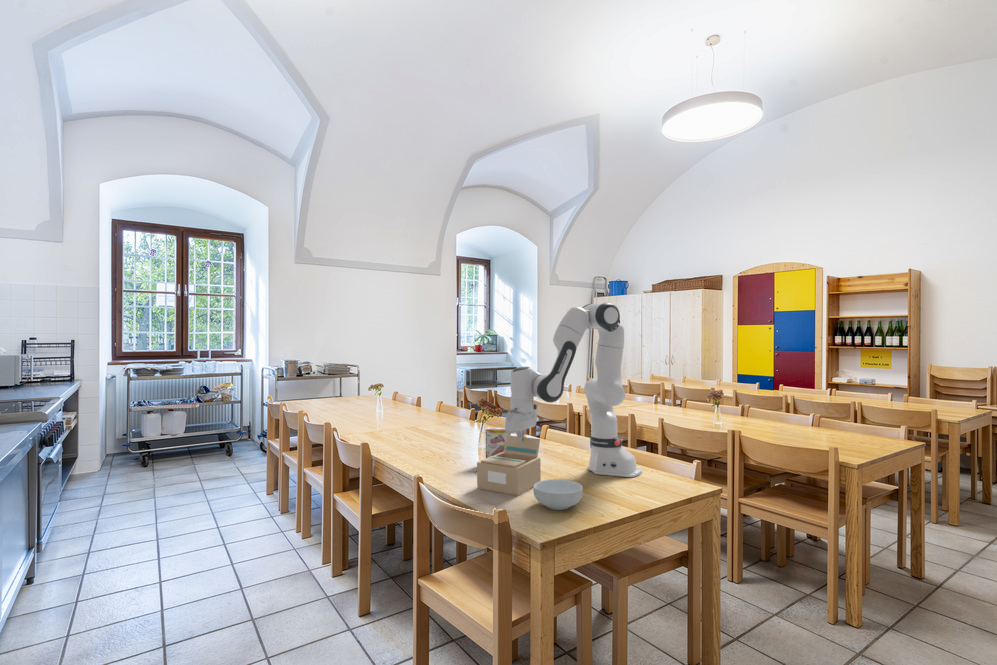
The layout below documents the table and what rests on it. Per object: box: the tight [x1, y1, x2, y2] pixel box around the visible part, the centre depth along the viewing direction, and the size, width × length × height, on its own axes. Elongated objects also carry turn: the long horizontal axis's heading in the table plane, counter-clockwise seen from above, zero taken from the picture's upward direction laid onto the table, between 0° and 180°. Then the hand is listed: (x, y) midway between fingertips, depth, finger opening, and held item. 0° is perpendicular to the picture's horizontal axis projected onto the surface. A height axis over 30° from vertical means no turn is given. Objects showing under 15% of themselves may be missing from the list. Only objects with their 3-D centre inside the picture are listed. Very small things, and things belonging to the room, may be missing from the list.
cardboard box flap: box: [504, 435, 541, 457], centre depth 204 cm, size 15×7×1 cm
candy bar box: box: [485, 427, 512, 459], centre depth 226 cm, size 11×5×16 cm, turn 84°
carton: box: [476, 452, 542, 497], centre depth 195 cm, size 18×18×10 cm
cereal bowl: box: [532, 478, 584, 511], centre depth 172 cm, size 17×17×7 cm
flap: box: [480, 456, 526, 467], centre depth 191 cm, size 15×8×1 cm, turn 58°
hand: (520, 440), depth 203 cm, fingers closed
